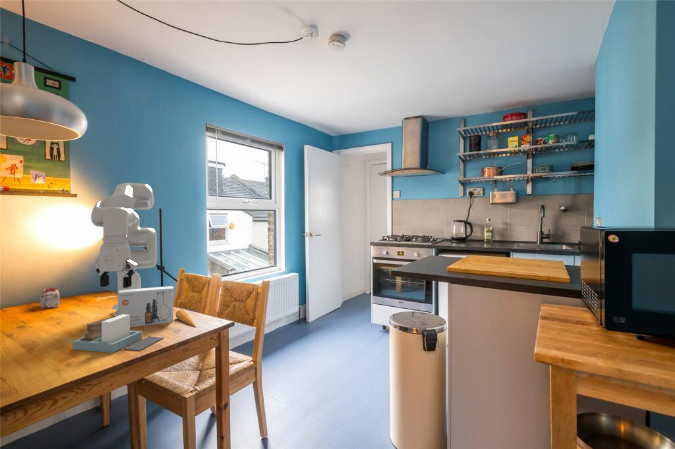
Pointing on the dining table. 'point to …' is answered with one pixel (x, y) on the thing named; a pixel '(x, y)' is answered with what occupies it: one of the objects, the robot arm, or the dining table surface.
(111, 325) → the white upright slab
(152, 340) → the mat
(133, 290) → the skincare box
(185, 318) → the carrot
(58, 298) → the food item
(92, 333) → the offcut middle
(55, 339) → the dining table surface
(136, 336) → the tray
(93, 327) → the offcut top
